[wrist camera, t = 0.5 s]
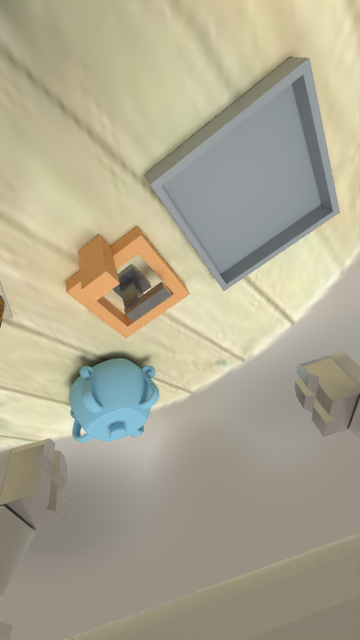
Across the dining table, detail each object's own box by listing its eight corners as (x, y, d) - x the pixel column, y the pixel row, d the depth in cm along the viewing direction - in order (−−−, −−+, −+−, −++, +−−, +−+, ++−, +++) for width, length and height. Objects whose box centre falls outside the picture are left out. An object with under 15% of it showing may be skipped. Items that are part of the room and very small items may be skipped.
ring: (184, 284, 54) (203, 320, 47) (123, 327, 56) (132, 367, 49) (126, 213, 43) (139, 246, 35) (53, 270, 45) (51, 312, 38)
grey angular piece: (107, 282, 49) (113, 313, 43) (146, 253, 48) (158, 280, 42) (127, 299, 52) (135, 330, 47) (164, 273, 51) (177, 301, 45)
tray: (143, 175, 40) (150, 184, 37) (289, 57, 36) (309, 57, 33) (215, 278, 55) (223, 291, 52) (324, 203, 51) (339, 212, 48)
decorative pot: (81, 345, 56) (84, 407, 47) (158, 354, 64) (175, 409, 54) (62, 398, 65) (61, 460, 55) (132, 401, 72) (143, 455, 63)
